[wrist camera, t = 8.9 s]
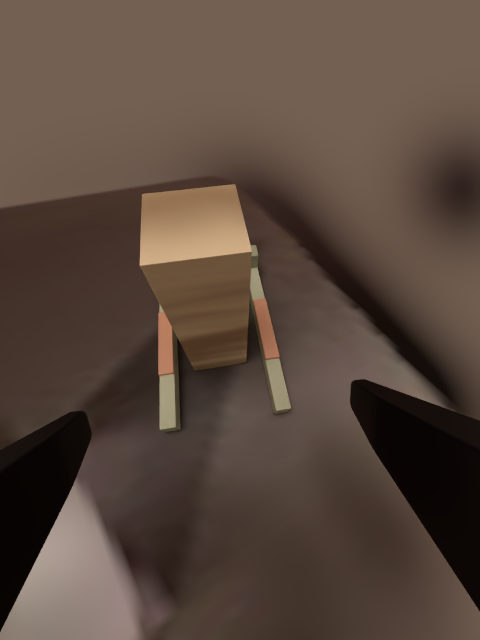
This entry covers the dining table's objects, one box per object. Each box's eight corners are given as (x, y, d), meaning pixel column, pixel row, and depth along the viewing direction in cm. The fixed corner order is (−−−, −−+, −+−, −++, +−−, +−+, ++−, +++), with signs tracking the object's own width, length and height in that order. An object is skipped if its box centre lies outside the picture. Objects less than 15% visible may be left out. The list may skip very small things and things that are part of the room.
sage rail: (287, 412, 18) (295, 403, 15) (166, 432, 17) (152, 427, 15) (254, 268, 24) (255, 245, 22) (164, 279, 24) (154, 256, 21)
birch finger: (246, 362, 20) (251, 251, 9) (194, 370, 19) (139, 265, 9) (237, 315, 22) (234, 181, 11) (190, 322, 21) (142, 190, 11)
